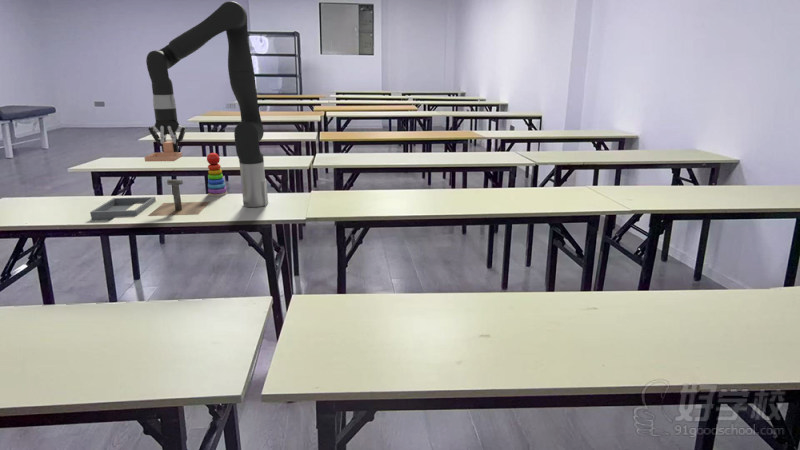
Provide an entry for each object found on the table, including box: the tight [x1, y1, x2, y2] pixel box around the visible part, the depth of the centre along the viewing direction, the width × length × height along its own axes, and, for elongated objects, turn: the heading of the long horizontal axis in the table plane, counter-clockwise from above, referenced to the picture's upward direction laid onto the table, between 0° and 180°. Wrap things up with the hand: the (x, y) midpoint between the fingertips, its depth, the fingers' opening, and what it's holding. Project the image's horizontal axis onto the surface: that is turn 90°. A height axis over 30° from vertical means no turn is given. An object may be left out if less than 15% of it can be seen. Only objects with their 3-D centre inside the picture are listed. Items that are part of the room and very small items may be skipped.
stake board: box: [147, 178, 211, 217], centre depth 197 cm, size 18×18×13 cm
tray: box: [89, 196, 157, 221], centre depth 198 cm, size 16×20×3 cm
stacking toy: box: [206, 152, 228, 197], centre depth 218 cm, size 8×8×19 cm
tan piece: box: [144, 140, 183, 162], centre depth 192 cm, size 10×15×5 cm, turn 6°
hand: (170, 153), depth 198 cm, fingers closed on tan piece, 3 cm apart
